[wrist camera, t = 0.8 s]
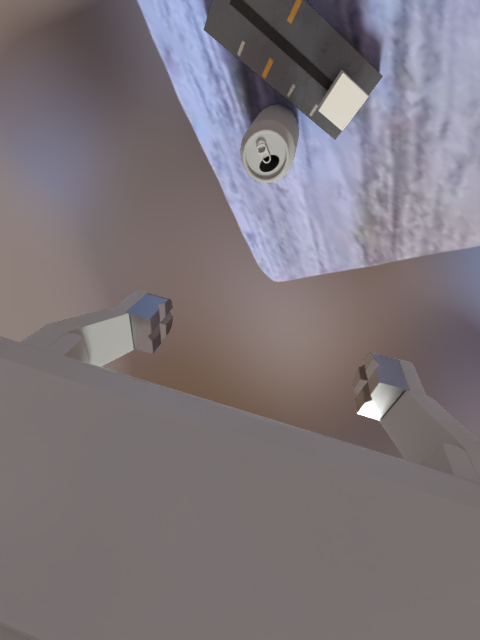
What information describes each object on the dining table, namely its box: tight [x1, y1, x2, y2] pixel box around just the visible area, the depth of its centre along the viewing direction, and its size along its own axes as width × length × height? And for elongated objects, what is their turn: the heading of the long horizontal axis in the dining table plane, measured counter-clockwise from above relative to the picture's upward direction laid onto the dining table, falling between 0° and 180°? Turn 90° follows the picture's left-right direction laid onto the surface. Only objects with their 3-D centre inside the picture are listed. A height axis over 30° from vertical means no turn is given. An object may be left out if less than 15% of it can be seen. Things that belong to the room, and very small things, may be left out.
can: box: [240, 104, 299, 183], centre depth 38 cm, size 8×8×12 cm
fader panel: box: [204, 0, 383, 139], centre depth 34 cm, size 8×22×3 cm, turn 60°
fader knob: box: [318, 70, 369, 131], centre depth 33 cm, size 4×4×5 cm
